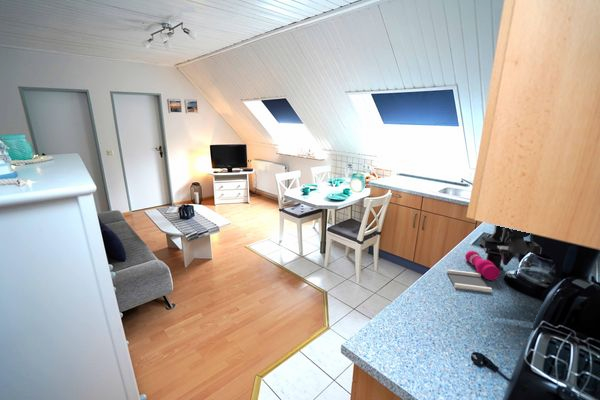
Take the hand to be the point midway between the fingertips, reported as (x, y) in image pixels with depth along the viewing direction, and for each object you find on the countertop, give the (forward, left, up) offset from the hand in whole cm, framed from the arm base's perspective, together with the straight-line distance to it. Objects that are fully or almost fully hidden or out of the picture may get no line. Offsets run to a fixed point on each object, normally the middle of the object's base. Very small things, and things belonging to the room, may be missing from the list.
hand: (504, 264), depth 110 cm
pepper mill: (-3, -2, -6) cm, 7 cm away
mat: (0, -12, -10) cm, 15 cm away
